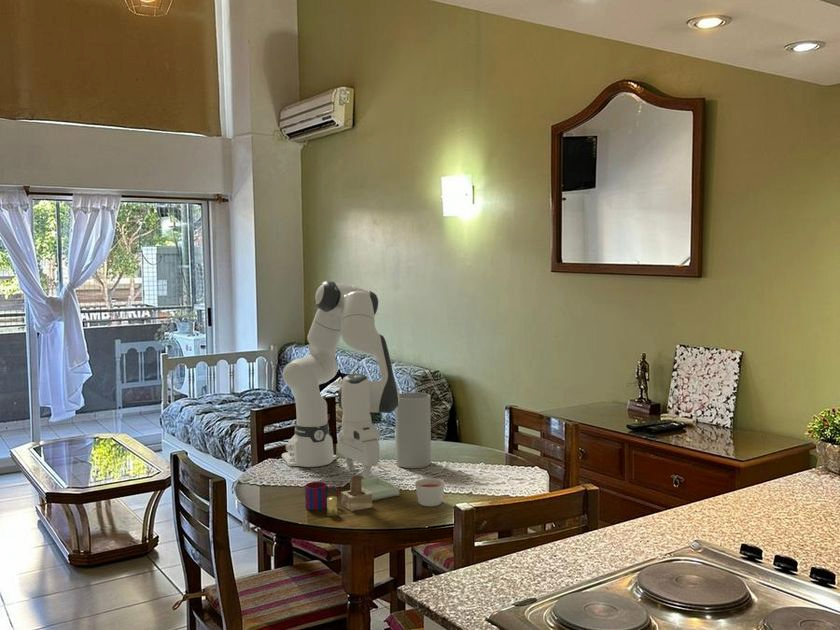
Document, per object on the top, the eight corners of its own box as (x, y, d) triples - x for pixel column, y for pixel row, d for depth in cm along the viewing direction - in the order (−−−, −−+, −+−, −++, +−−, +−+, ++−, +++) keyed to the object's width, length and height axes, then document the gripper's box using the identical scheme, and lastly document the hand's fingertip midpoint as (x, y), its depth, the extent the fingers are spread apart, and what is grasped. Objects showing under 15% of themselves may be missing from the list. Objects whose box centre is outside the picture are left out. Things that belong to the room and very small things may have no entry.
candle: (422, 509, 229) (422, 488, 228) (410, 500, 237) (410, 480, 236) (449, 505, 232) (449, 484, 232) (437, 496, 240) (437, 476, 240)
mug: (309, 502, 236) (309, 481, 235) (341, 504, 234) (340, 482, 234) (302, 510, 229) (301, 487, 229) (334, 511, 228) (334, 489, 227)
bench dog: (325, 514, 225) (325, 497, 225) (334, 512, 227) (334, 495, 226) (329, 517, 223) (329, 500, 222) (339, 515, 224) (338, 498, 224)
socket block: (340, 504, 234) (340, 492, 233) (361, 500, 237) (361, 488, 237) (351, 511, 228) (351, 498, 227) (372, 507, 231) (372, 494, 231)
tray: (350, 489, 248) (350, 482, 248) (378, 484, 254) (378, 476, 253) (370, 500, 237) (369, 493, 237) (399, 494, 242) (399, 487, 242)
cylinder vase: (420, 471, 268) (419, 400, 266) (389, 466, 275) (388, 397, 273) (437, 462, 279) (436, 394, 277) (407, 457, 285) (406, 391, 283)
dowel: (349, 505, 233) (348, 476, 232) (358, 503, 235) (358, 474, 234) (354, 508, 230) (353, 479, 229) (363, 506, 232) (363, 477, 231)
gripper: (332, 424, 238) (333, 468, 239) (363, 436, 220) (365, 484, 221) (350, 421, 241) (351, 464, 242) (382, 433, 224) (384, 480, 225)
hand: (358, 474), depth 232 cm, fingers open, 8 cm apart
